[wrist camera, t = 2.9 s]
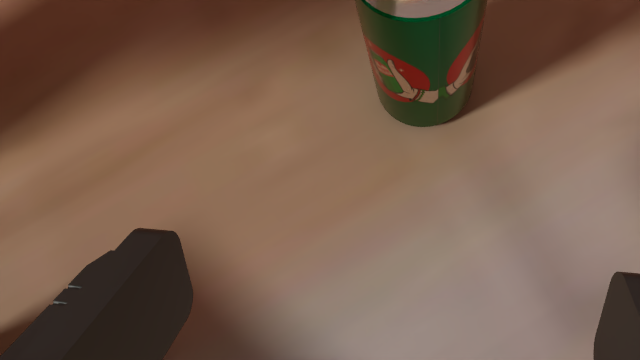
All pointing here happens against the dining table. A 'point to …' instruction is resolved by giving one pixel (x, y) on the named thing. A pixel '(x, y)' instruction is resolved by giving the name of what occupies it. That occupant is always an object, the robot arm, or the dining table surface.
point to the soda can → (422, 55)
